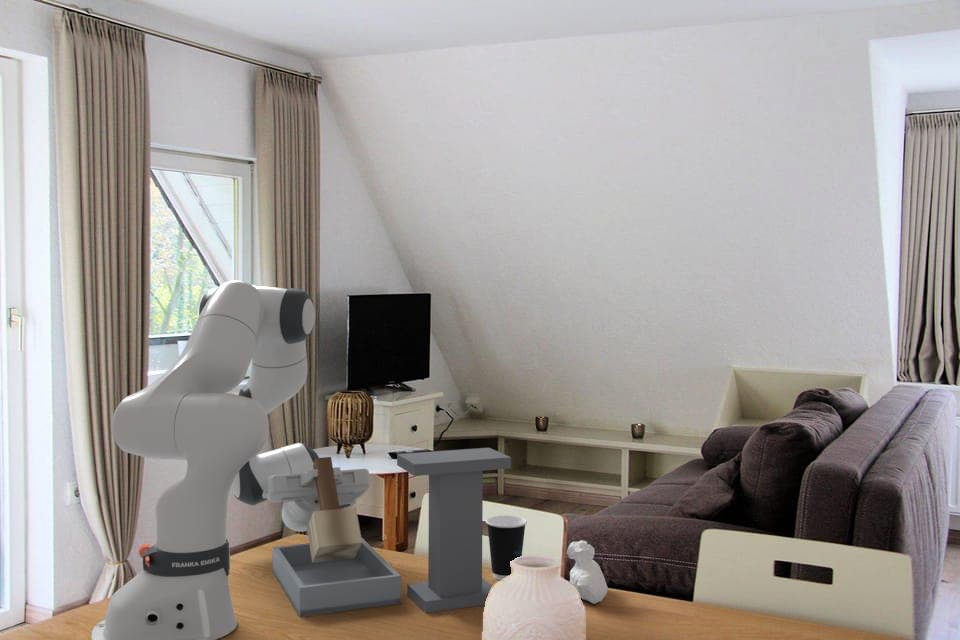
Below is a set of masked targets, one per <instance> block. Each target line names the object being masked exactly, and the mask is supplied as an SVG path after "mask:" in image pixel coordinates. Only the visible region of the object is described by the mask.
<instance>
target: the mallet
mask: <svg viewBox="0 0 960 640" xmlns="http://www.w3.org/2000/svg"><path fill="white" fill-rule="evenodd" d="M313 468H314V469H318V472H317V473H318V478H317V480H315V481H316V487H317V493H318V500H319V506H320V511H313V514H312V516H311V519H310V522H309V524H308V527H307V536H308V543H309V544H310V551H311V557H312V563H316V562H325V561H333V560H342V559H351V558H355V556H356V554H357V552H358V550H359V548H360V546H361V544H362V539H361V538H362V533H361V529H360V528H361V527H360V521H359V517H358V512H357V507H346V508H341V509H340V507H339V501H338V495H337V489H336V483H335V477H334V471H333V468H334V466H333V460H332V457H331V456H325V457H319V458H316V459H315V461H314V464H313Z"/></svg>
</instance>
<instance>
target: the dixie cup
mask: <svg viewBox="0 0 960 640" xmlns="http://www.w3.org/2000/svg"><path fill="white" fill-rule="evenodd" d="M485 524H486V525H487V532H488V533H487V534H488V542H489V545H488V546H489V553H490V554H489V555H490V564H491V572H492V573H493V578H494V579H495V580H499V581H501V580H500V579H503V578H505V577H506V576H508V575H510V574H511V567H510V561H512V560H514V559H515V558H517V557H520V556H523V550H524V549H523V548H524V538H525V531H526V525H527V524H528V520H527V519H525V518H523V517H521V516H517V515H495V516H491V517H488V518H487V519H486V520H485ZM502 524H505V525H502Z"/></svg>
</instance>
